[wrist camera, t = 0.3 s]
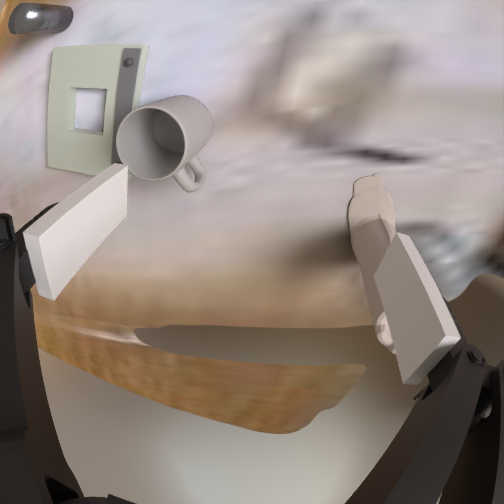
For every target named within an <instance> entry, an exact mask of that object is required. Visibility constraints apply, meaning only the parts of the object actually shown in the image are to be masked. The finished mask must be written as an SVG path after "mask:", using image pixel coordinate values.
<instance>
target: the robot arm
mask: <svg viewBox="0 0 504 504" xmlns="http://www.w3.org/2000/svg"><path fill="white" fill-rule="evenodd" d="M127 180H128V165H123V164H118V163H114V164H112V165H111V166H109V167H108V168H106V169H105V170H103V171H102V172H100V173H99V174H97V175H96V176H95V177H93V178H92V179H90V180H89V181H87V182H86V183H85V184H83V185H82V186H80V187H79V188H78V189H76V190H75V191H74V192H72V193H71V194H70V195H68V196H67V197H66V198H64V199H63V200H62V201H60V202H57V203H55V204H53V205H50V206H48V207H46V208H45V209H44V210H43V211H41V212H40V213H39V214H38V215H36V216H35V217H34V218H33V220H32V219H31V220H30V221H29V222H28V223H27V224H25V225H24V226H23V227H22V228H21V229H20V230H18V231H17V232H16V233H15V231H14V226H13V221H12V216H10V215H9V214H6V213H0V504H135V503H132V502H129V501H127V500H124V499H121V498H118V497H115V496H113V495H110V494H108V497H107V498H105V497H84V495H83V493H82V491H81V488H80V486H79V484H78V482H77V480H76V478H75V476H74V474H73V473H72V471H71V469H70V468H69V466H68V464H67V462H66V460H65V458H64V455H63V452H62V449H61V446H60V443H59V440H58V437H57V434H56V430H55V426H54V423H53V419H52V416H51V412H50V408H49V404H48V400H47V396H46V392H45V387H44V382H43V377H42V372H41V366H40V360H39V354H38V347H37V340H36V332H35V323H34V313H33V300H32V294H31V291H30V289H31V287H32V286H33V285H34V284H35V283H36V286H37V290H38V293H39V295H41V296H43V297H46V298H48V299H50V300H53V301H54V300H55V299H56V298H57V296H58V295H59V294H60V292H61V291H62V290H63V289H64V287H65V286H66V285H67V283H68V282H69V281H70V280H71V279H72V277H73V276H74V275H75V274H76V272H77V271H78V270H79V269H80V268H81V266H82V265H83V264H84V263H85V262H86V260H87V259H88V258H89V257H90V256H91V255H92V253H93V252H94V251H95V250H96V249H97V248H98V247H99V245H100V244H101V243H102V242H103V241H104V240H105V239H106V238H107V236H108V235H109V234H110V233H111V232H112V231H113V230H114V229H115V228H116V227H117V225H118V224H119V223H120V222H121V221H122V220H123V219H124V218H125V217H126V216H127ZM374 279H375V282H376V285H377V288H378V291H379V294H380V298H381V301H382V304H383V308H384V311H385V315H386V318H387V322H388V325H389V329H390V333H391V336H392V340H393V344H394V348H395V352H396V356H397V360H398V364H399V368H400V373H401V377H402V381H403V383H404V384H419V383H420V382H421V381H422V380H423V379H424V378H425V377H426V376H427V375H428V379H429V384H428V385H426V386H425V387H424V389H422V390H421V391H420V392H419V393H418V394H417V395H416V396H415V397H414V398H413V399H414V400H416V399H417V398H418V397H419V398H418V400H417V402H416V403H415V405H414V407H413V409H412V411H411V412H410V414H409V416H408V417H407V419H406V421H405V422H404V424H403V425H402V427H401V429H400V430H399V432H398V433H397V435H396V436H395V438H394V439H393V441H392V442H391V444H390V445H389V447H388V448H387V450H386V451H385V453H384V454H383V456H382V457H381V458H380V460H379V461H378V463H377V464H376V465H375V467H374V468H373V469H372V471H371V472H370V473H369V475H368V476H367V477H366V478H365V480H364V481H363V482H362V484H361V485H360V486H359V487H358V489H357V490H356V491H355V492H354V493H353V495H352V496H351V497H350V498H349V499H348V500H347V502H346V503H345V504H436V502H437V500H438V498H439V497H440V495H441V493H442V495H441V498H440V502H439V504H504V360H503V361H501V362H500V363H499V364H498V365H497V366H496V367H495V368H494V367H492V366H489V365H487V364H486V359H485V357H484V355H483V354H482V352H481V351H480V350H479V349H478V348H477V347H476V346H474V345H471V344H467V342H466V339H465V337H464V335H463V333H462V330H461V328H460V326H459V324H458V322H457V319H456V317H455V315H453V311H452V309H451V307H450V305H449V303H448V302H447V301H446V300H445V298H444V297H443V296H442V295H441V294H440V292H439V290H438V288H437V286H436V284H435V282H434V280H433V278H432V276H431V274H430V273H429V271H428V269H427V267H426V265H425V263H424V262H423V260H422V258H421V256H420V254H419V253H418V251H417V249H416V247H415V246H414V244H413V242H412V240H411V239H410V237H409V236H407V235H404V234H401V233H398V232H396V234H395V236H394V238H393V240H392V242H391V244H390V246H389V248H388V250H387V252H386V254H385V256H384V258H383V259H382V261H381V263H380V265H379V267H378V269H377V271H376V273H375V275H374ZM491 408H492V409H491ZM489 409H491V413H490V415H489V416H488V417H487V418H485V413H486V412H487V411H488V410H489Z"/></svg>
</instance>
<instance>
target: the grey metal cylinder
mask: <svg viewBox="0 0 504 504" xmlns="http://www.w3.org/2000/svg"><path fill="white" fill-rule="evenodd" d="M72 19H73V10H72V9H71V8H70V7H68V6H61V5H50V4H37V3H21V4H19V5H18V6H17V7H16V8H15V9H14V10H13V12H12V13H11V16H10V18H9V23H8V27H9V31H10V32H11V33H12V34H20V33H42V32H62V31H64V30H66V29H67V28H68V27H69V25H70V24H71V22H72Z"/></svg>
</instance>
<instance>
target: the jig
mask: <svg viewBox="0 0 504 504" xmlns="http://www.w3.org/2000/svg"><path fill="white" fill-rule="evenodd" d="M148 50H149V46H148V45H122V44H113V45H82V46H68V47H57V48H53V55H52V63H51V72H50V82H49V95H48V115H47V159H48V167H52V168H58V169H63V170H68V171H73V172H79V173H84V174H89V175H94V176H96V175H97V174H99V173H100V172H102V171H103V170H105V169H106V168H108V167H109V166H111V165H112V164H114V163H118V164H122V162H121V160H120V158H119V156H118V153H117V148H116V135H117V131H118V128H119V126H120V124H121V122H122V120H123V119H124V118H125V117H126V115H127V114H129V113H130V112H131V111H133V110H134V109H136V108H138V107H139V105H140V98H141V91H142V84H143V78H144V72H145V66H146V61H147V55H148ZM77 88H100V89H107V96H106V105H105V116H104V128H103V132H100V131H92V130H84V129H75V109H76V96H77ZM132 177H133V174H132V173H131V172H129V171H128V180H127V181H129V180H130V179H131V178H132Z"/></svg>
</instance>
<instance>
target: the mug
mask: <svg viewBox="0 0 504 504" xmlns="http://www.w3.org/2000/svg"><path fill="white" fill-rule="evenodd" d="M211 133H212V119H211V115H210V113H209V111H208V109H207V108H206V106H205V105H204V104H203V103H202V102H200V101H199V100H197V99H195V98H193V97H190V96H185V95H180V96H174V97H170V98H167V99H164V100H161V101H157V102H154V103H150V104H147V105H144V106H141V107H138V108H136V109H134V110H133V111H131V112H130V113H129V114H127V115H126V117H125V118H124V119H123V120H122V122H121V124H120V126H119V128H118V131H117V135H116V148H117V153H118V156H119V158H120V160H121V162H122V164H123V165H128V171H129V172H131V173H132V174H133V175H135V176H136V177H138V178H141V179H144V180H148V181H159V180H163V179H166V178H168V177H170V176H173V177H174V178H175V180H176V181H177V182H178V184H179V185H180V186H181V187H182V189H184V190H185V191H186V192H194V191H197V190H198V189H199V188H201V186H202V185H203V184H204V182H205V179H206V171H205V168H204V166H203V164H202V163H201V161H200V159H199V158H198V156H197V153H198V152H199V151H200V150H201V149H202V148H203V147H204V146H205V145H206V143H207V142H208V140H209V138H210V136H211ZM187 163H188V164H189V166H190V167H191V169H192V170H193V172H194V175H195V181H193V180H192V179H191V178H190V176H189V175H188V173H187V172H186V169H185V165H186V164H187Z"/></svg>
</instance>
